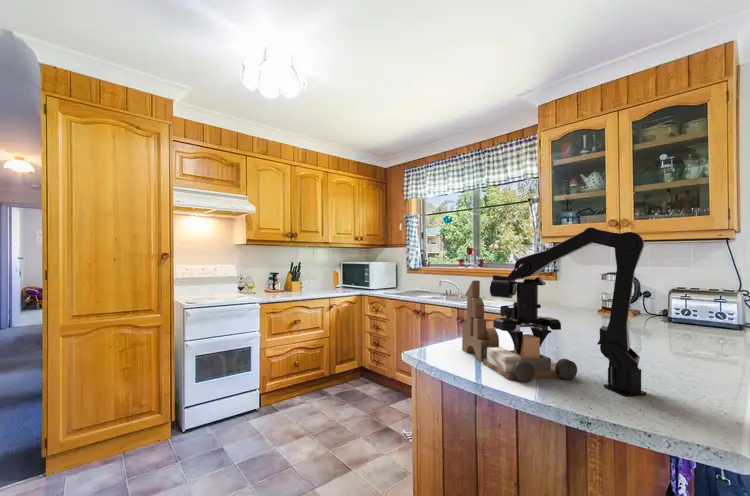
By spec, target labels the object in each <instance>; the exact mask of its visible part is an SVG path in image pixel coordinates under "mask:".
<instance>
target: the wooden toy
mask: <svg viewBox="0 0 750 496" xmlns="http://www.w3.org/2000/svg"><path fill="white" fill-rule="evenodd" d="M480 287H481V281H480V280H472V281H471V283H470V285H469V286H468V289H467V291H466V292H465V294H464V296H465V297H466V300H467V301H466V319H465V322H464V323H462V333H461V334H462V335H461V340H462V341H461V342H462V343H461V350H462V351H463V352H465V353H467V354H469V353H470V354H471V353H474V354H475V359H476V360H477V361H479V360H480V361H479V362H481V361H482V362H483V359H484V358H483V355H482V352H483V349H484V347H485V346H487V345H493V346H495V347H500V338H499V333H498V332H497V329H496V328H495V327H487V319H485V304H484V301H483V299H482V298H481V295H480V294H481V290H480Z"/></svg>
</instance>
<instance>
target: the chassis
mask: <svg viewBox="0 0 750 496" xmlns="http://www.w3.org/2000/svg"><path fill="white" fill-rule="evenodd" d="M482 355H483V358H484V359H483V361H482V365H484V364H485V365H484V366H486V367H487V366H488V367H487V368H489V367H490V368H491V370H492V369H493V370H492V371H494V370H495V371H496V372H495V371H494V372H495V373H497V372H498V373H499V374H498V373H497V374H498V375H500V374H501V375H500V376H501V377H503V376H504V377H503V378H504V379H506V378H507V379H506V380H508V381H514V380H515V381H517V380H518V381H520V382H522V383H528V382H530V381H531V380H532V379H533V380H535V379H553V378H561V379H564V380H566V381H571V380H573V379H575V377H576V376H577V373H578V366H577V364H576V363H575V362H574V361H572V360H570V359H567V358H561V359H559V360H557V362H554V361H552V358H550V357H548V356H546V355H543V354H541V353H540V358H528V359H522V358H521V357H520V356H518V355H516V354H514V349H513V350H509V349H506V348H503V347H501V346H499V347H495V346H493V345H487V346H485V347H484V349H483V352H482ZM490 368H489V369H490Z"/></svg>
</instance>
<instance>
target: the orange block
mask: <svg viewBox="0 0 750 496" xmlns="http://www.w3.org/2000/svg"><path fill="white" fill-rule="evenodd" d="M513 350H514V354H516V355H518V356H520V357H521V358H522V359H528V358H540V354H541V346H540V338H539V337H536V336H533V334H531V333H523V338H522V347H521V352H520V354H518V353H517V352H516V349H515V346H514V345H513Z"/></svg>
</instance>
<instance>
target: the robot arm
mask: <svg viewBox="0 0 750 496" xmlns="http://www.w3.org/2000/svg"><path fill="white" fill-rule="evenodd" d="M592 244H598V245H602V246H605V247H610V248H613V249H614V255H615V262H616V263H615V264H616V271H615V272H616V273H615V279H614V287H613V295H612V300H611V301H612V303H611V308H610V315H609V322H608V324H607V326H606V325H601V327H600V328H599V340H598V342H597V345H599V350H600V353H601V354H602V355H603V356H604V357H605V358H606V359H608V367H607V383H604V384H603V387H604V388H606V389H608V390H610V391H612V392H615V393H618V394H620V395H622V396H625V397H628V396H629V397H632V396H644V395H645V396H646V395H648V394H647V393H648V392H647V391H644V390H642V369H641V368H640V367H639V364H640V358H641V357H640V355H639V354H637V352H636V351H634V349H632V347H631V343H630V333H629V325H628V322H629V316H630V315H629V314H630V307H631V300H632V293H633V287H634V279H635V272H636V269H637V266H638V264H639V261H640V259H641V256H642V253H643V251H644V248H645V241H644V239H643V237H642V236H641V235H639V234H638V233H636V232H633V231H626V232H622V233H618V232H613V231H607V230H602V229H597V228H595V227H587V228H584V230H583V231H581V232H579V233H577V234H574V235H573V236H571V237H569V238H567V239H565V240H563V241H560V242H559V243H557V244H555V245H553V246H551V247H549V248H547V249H546V250H543V251H539V252H537V253H532V254H529V255H526V256H523V257H520V258H518V259H517V260H516V261H515V264H514V268H513V270H512V271H511V272H510V273H509V274H508V275H507V276H505V275H498V274H497V275H494V274H493V275H492V279H491V282H490V285H489V294H490V296H491V297H492V298H501V299H502V298H503V299H513V298H514V297H513V296H516V301H513V307H509V305H501V306H500V311H499V312H500V316H501V317H495V318H494V320H493V323H492V324H493V327H492V328H494V329H496V330H497V329H498V330H500V331H502V332H507V333H508V334H509V336H510V338H511V341H512V344H513V347H514V346H515V349H516V352H517V353H518V354H520V352H521V347H522V338H523V334H524V332H523V331H522V330H521V328H530V330H531V333H532V335H533V336H536V337H539V338H540V347H541V346H542V345H543V342H544V341H545V340H546V338H547V337H548V335H549V334H551V333H552V331H555V330H556V331H560V330H562V323H561V321H560V320H559V319H558V318H553V317H550V316H541V317H540V316H539V315H538V314H539V312H538V311H539V309H541V308H542V305H541V304H540V303H539V286H546V282H545V281H544V280H542V278H541V276H537V275H538V274H539V273H541V272H542V271H543V270H545V269H547V268H548V267H549V266H550V265H551V264H553V263H554V262H557V261H558V260H560V259H563V258H565V257H567V256H569V255H571V254H573V253H576V252H577V251H579V250H581V249H583V248H585V247H588V246H590V245H592ZM535 276H537V277H536V278H530V277H535ZM516 280H523V281H516Z"/></svg>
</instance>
